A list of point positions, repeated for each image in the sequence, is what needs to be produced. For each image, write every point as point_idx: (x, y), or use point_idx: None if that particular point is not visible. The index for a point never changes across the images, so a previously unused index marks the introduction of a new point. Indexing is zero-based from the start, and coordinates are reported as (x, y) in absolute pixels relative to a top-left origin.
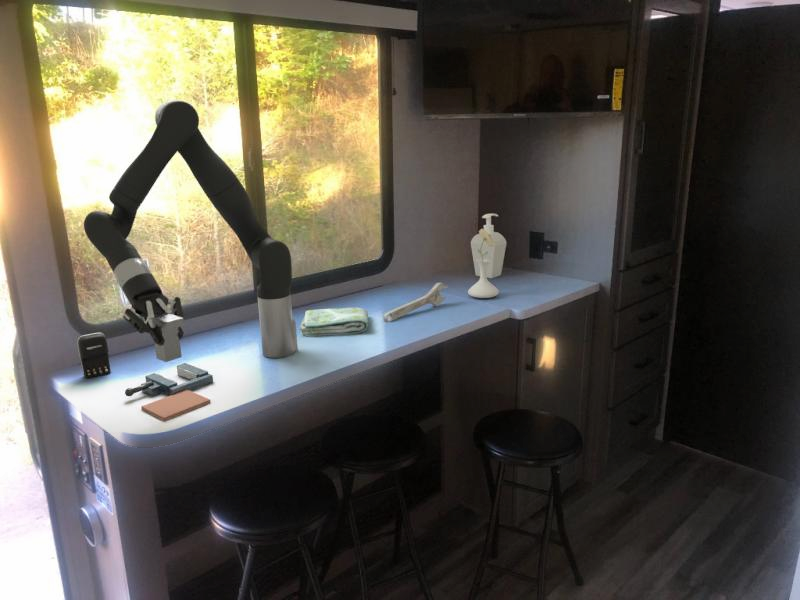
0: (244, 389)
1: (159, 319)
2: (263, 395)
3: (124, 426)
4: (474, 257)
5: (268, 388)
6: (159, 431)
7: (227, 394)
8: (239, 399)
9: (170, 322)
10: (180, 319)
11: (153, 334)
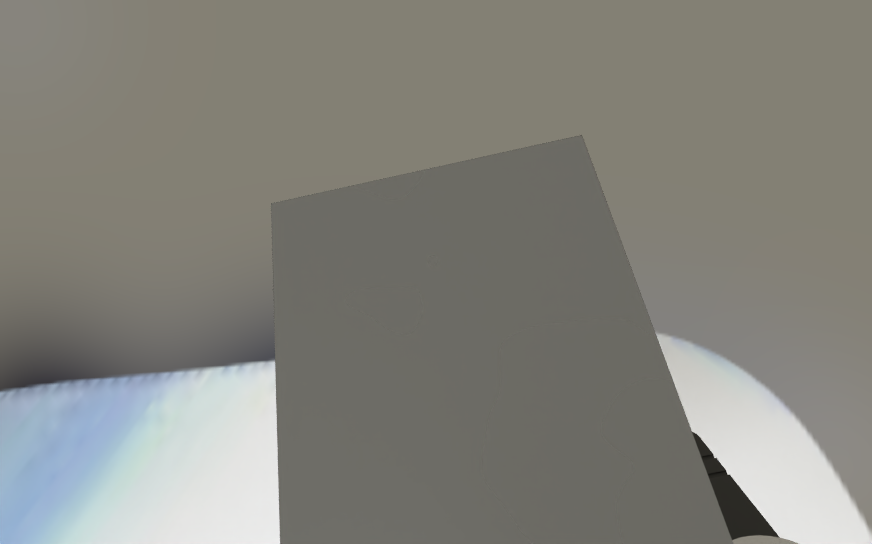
0: (169, 522)
1: (665, 403)
2: (167, 385)
3: (832, 524)
4: None
5: (100, 443)
6: (673, 345)
7: (259, 525)
8: (259, 420)
9: (519, 158)
10: (331, 197)
11: (744, 502)
